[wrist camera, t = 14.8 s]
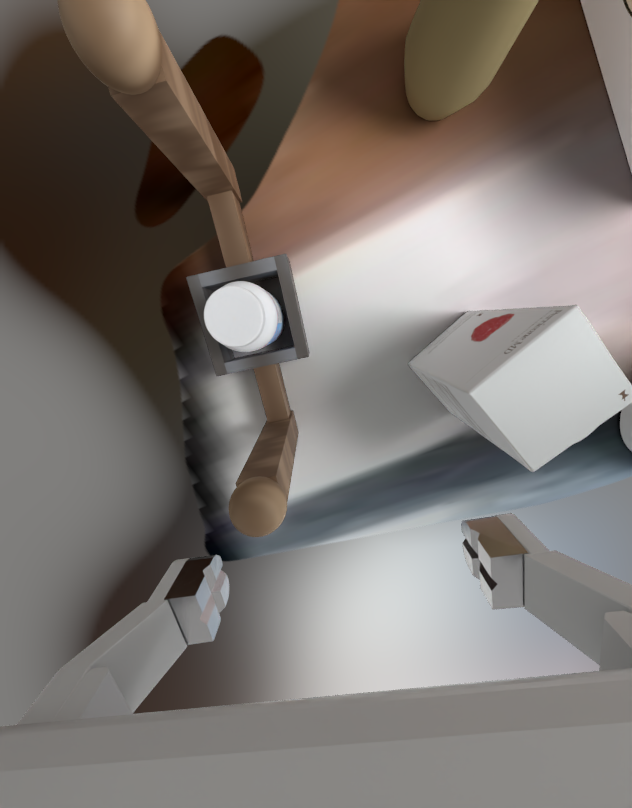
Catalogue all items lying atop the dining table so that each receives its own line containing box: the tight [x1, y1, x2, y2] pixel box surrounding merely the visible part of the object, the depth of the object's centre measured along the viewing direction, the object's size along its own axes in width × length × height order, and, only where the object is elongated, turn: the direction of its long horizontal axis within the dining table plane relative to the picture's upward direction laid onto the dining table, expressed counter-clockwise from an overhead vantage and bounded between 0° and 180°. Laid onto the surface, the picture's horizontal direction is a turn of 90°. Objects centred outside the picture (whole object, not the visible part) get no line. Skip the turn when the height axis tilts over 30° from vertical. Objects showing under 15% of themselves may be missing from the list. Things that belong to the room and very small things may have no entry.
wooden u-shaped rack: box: [58, 0, 309, 537], centre depth 24 cm, size 10×30×19 cm, turn 12°
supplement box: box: [408, 305, 632, 472], centre depth 28 cm, size 9×9×15 cm
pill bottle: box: [204, 281, 285, 352], centre depth 28 cm, size 6×6×11 cm
